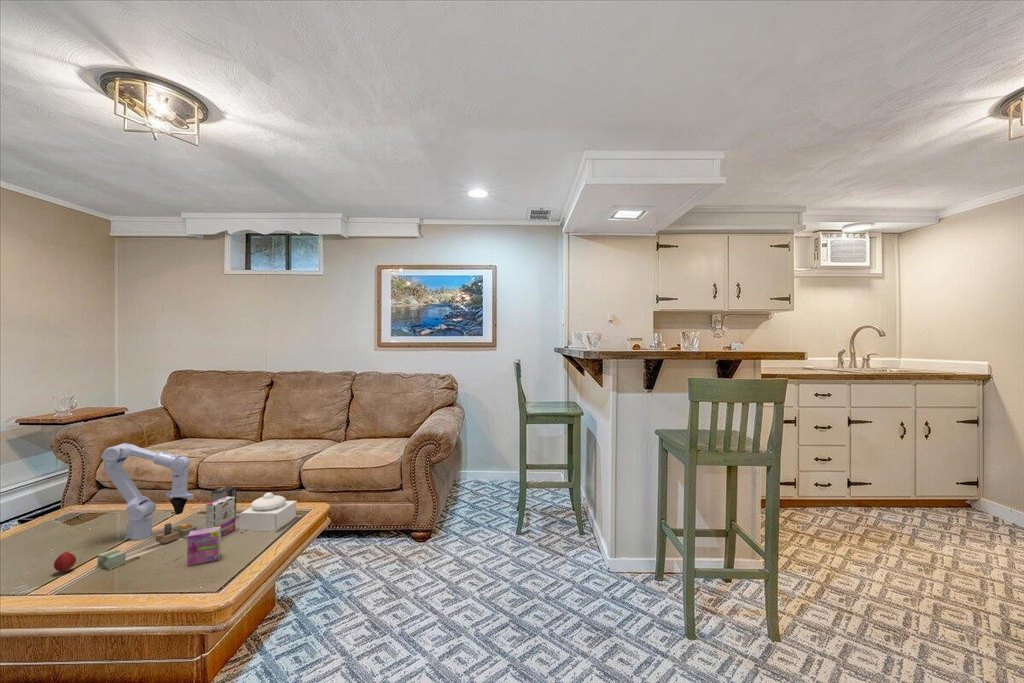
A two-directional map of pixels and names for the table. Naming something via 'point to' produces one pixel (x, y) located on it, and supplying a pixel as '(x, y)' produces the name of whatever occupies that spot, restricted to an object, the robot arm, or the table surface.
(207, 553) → the box
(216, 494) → the coffee box
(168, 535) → the carriage
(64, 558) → the onion
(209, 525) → the candy bar box
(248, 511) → the butter dish
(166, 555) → the table surface
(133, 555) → the rail stand
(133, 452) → the robot arm
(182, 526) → the button
